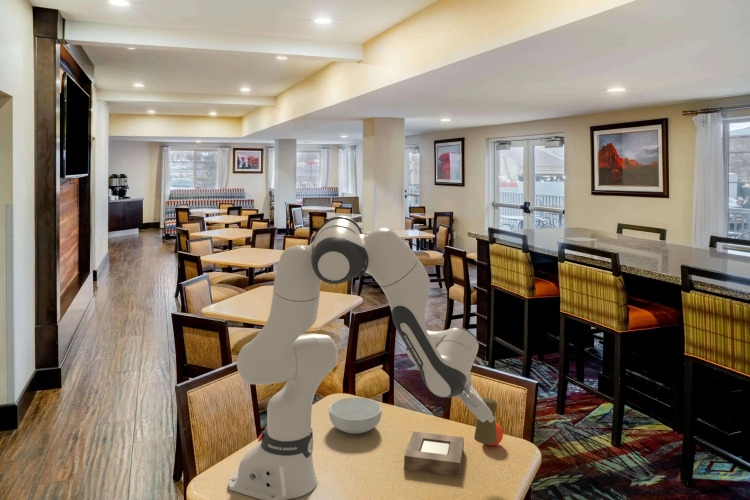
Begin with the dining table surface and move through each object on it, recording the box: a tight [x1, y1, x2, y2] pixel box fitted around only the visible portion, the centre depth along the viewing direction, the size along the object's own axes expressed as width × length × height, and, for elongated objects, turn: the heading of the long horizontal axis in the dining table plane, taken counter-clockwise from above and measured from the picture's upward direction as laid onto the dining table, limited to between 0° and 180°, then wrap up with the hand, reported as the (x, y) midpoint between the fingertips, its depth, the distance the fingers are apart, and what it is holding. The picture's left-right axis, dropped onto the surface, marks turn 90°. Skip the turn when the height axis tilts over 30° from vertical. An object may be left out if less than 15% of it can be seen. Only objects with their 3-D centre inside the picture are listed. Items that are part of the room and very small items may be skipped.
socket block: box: [403, 431, 465, 478], centre depth 154 cm, size 15×15×4 cm
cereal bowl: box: [328, 396, 383, 435], centre depth 172 cm, size 17×17×7 cm
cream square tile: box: [421, 440, 450, 455], centre depth 153 cm, size 7×7×1 cm
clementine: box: [486, 422, 504, 447], centre depth 164 cm, size 8×7×7 cm
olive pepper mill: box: [473, 397, 498, 445], centre depth 144 cm, size 6×6×11 cm
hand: (488, 414), depth 144 cm, fingers closed on olive pepper mill, 5 cm apart
